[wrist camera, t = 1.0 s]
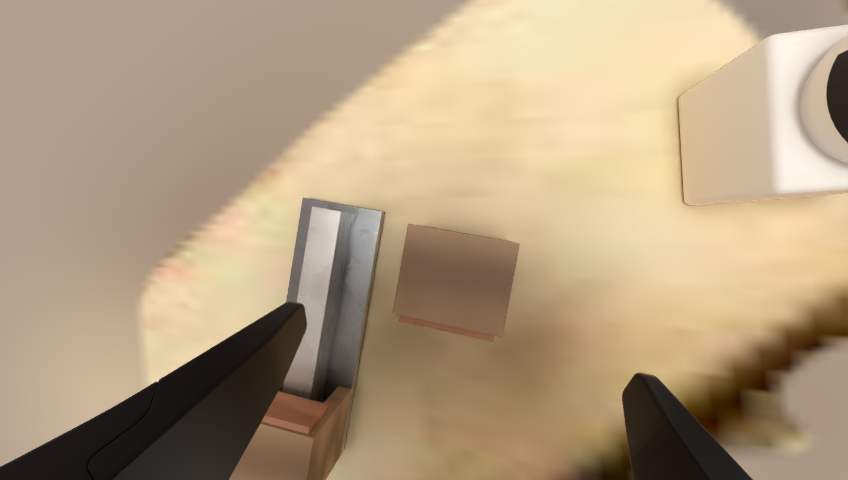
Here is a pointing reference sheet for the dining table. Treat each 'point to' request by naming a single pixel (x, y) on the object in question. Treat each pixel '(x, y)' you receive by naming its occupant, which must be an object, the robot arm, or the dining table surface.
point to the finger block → (455, 281)
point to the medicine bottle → (770, 122)
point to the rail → (332, 296)
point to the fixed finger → (296, 439)
